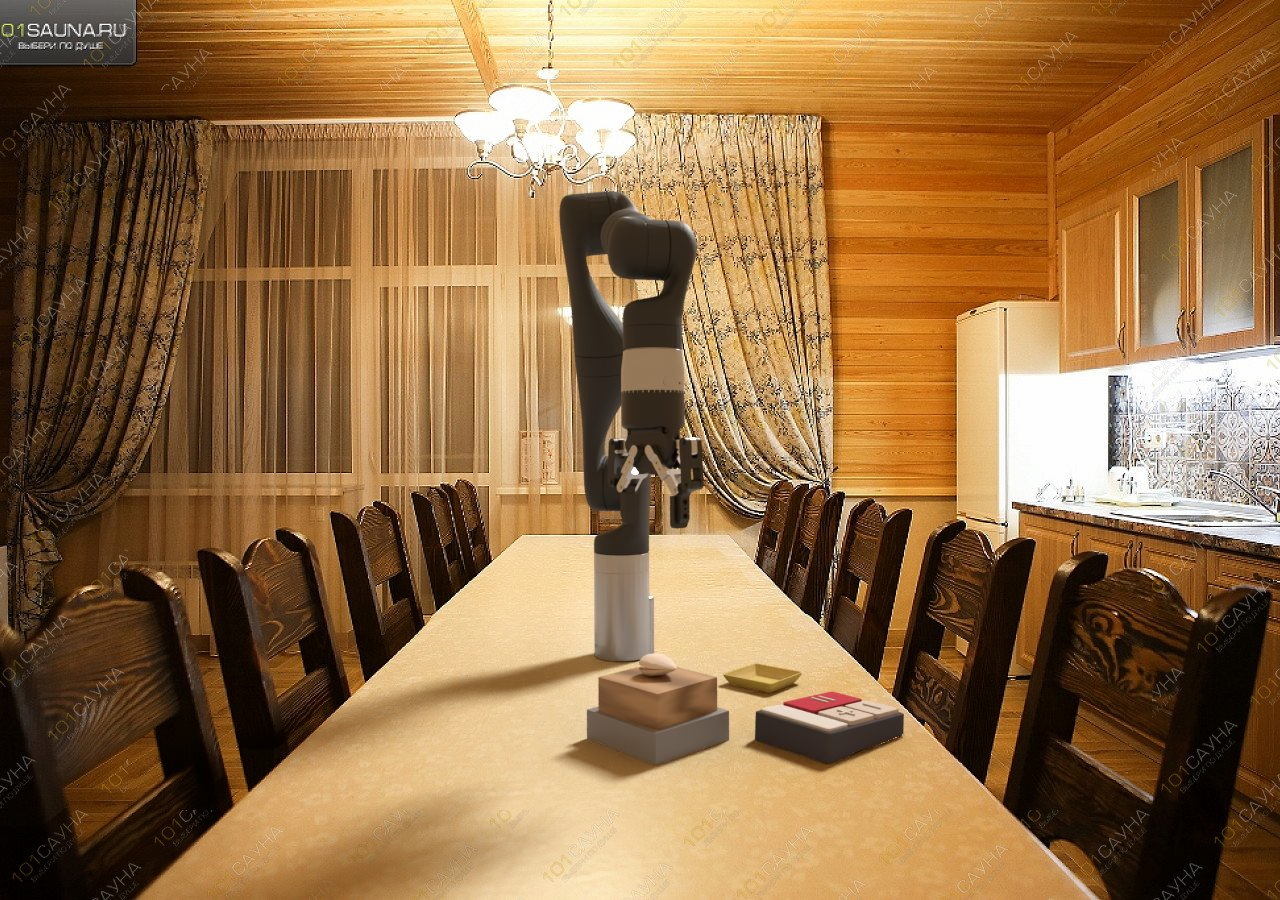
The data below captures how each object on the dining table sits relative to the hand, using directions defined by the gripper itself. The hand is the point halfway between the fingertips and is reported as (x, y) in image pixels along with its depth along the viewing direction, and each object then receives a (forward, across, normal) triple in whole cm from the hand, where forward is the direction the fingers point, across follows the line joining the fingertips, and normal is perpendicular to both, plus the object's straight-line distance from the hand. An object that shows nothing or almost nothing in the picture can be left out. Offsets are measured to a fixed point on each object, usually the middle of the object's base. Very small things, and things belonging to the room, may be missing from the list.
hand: (653, 525), depth 102 cm
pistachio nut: (+18, 0, -1) cm, 18 cm away
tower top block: (+22, 0, 0) cm, 22 cm away
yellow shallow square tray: (+26, +7, -28) cm, 39 cm away
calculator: (+26, -13, -16) cm, 34 cm away
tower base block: (+26, 0, 0) cm, 26 cm away
